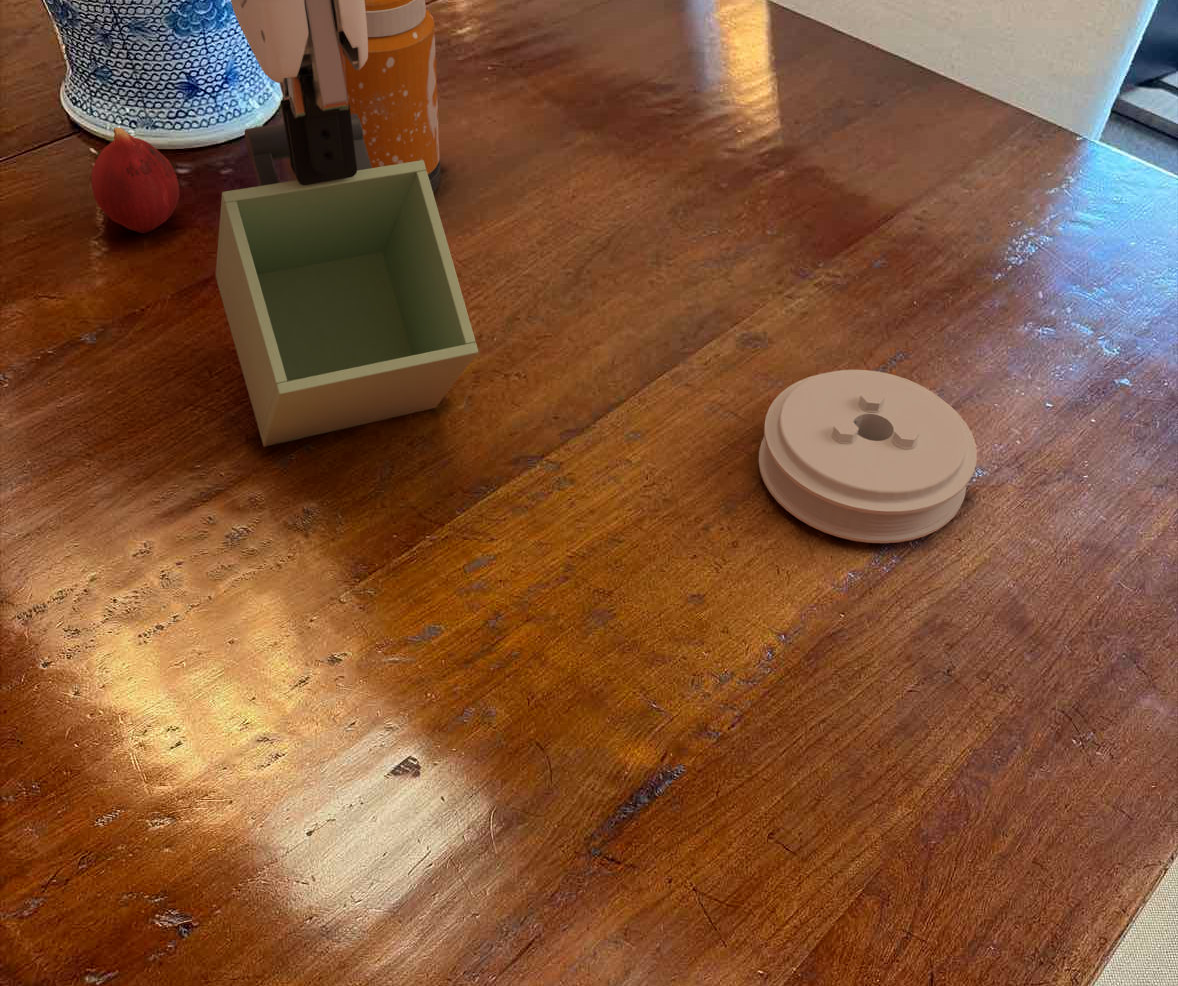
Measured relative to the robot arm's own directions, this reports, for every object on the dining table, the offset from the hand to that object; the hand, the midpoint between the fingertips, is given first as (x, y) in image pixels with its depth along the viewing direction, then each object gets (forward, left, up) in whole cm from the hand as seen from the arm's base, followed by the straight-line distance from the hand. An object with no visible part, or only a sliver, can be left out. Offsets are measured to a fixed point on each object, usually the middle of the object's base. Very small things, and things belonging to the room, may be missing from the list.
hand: (324, 173), depth 69 cm
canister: (+9, +26, -17) cm, 33 cm away
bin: (0, -5, -12) cm, 13 cm away
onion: (-8, +25, -17) cm, 32 cm away
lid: (+28, -16, -17) cm, 36 cm away
